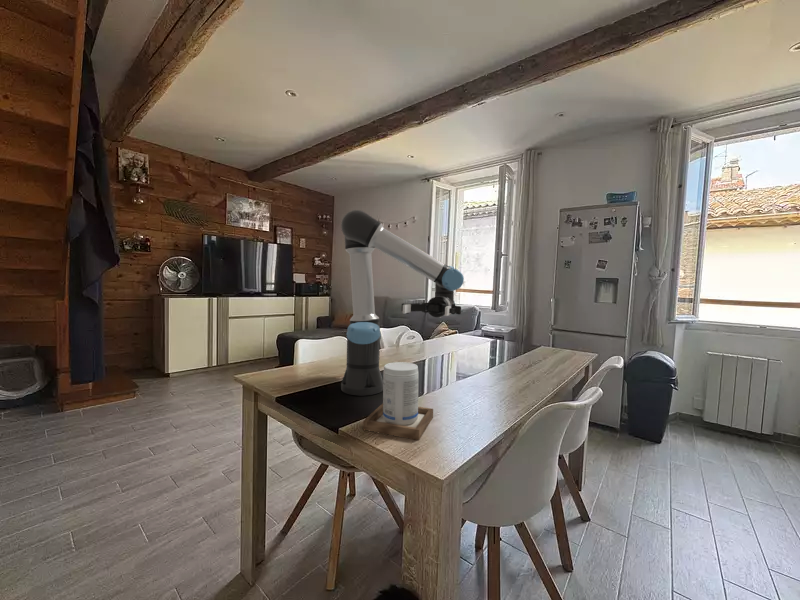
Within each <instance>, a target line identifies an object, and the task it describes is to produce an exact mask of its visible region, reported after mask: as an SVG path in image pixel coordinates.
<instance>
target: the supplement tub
mask: <svg viewBox="0 0 800 600" xmlns="http://www.w3.org/2000/svg"><path fill="white" fill-rule="evenodd" d="M382 374H383V375H382V379H383V391H382V404H383V418H384V420H385V421H386V422H388V423H390V424H396V425H407V424H412V423H414V422H415V421H416V420H417V418H418V407H419V367H418V365H417V364H415V363H412V362H405V361H397V362H396V361H395V362H389V363H386V364H385V365H384V366H383V373H382Z"/></svg>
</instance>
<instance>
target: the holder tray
mask: <svg viewBox="0 0 800 600" xmlns="http://www.w3.org/2000/svg"><path fill="white" fill-rule="evenodd" d="M433 418H434V408H430V407H422V406H418V418H417V420H416V421H415V422H414V423H412V424H407V425H396V424H390V423H388V422H386V421H385V420H384V418H383V403H381V404H380V405H379V406H378V407H377V408H376V409H375V410H373V411H372V412H371V413H370V414H369V415H368V416H366V418H364V420H362V421H363V422H362V430H363V429H365V430H370V431H374V432H373V433H376V432H379V433H378V434H381V433H384V434H383V435H387V434H389V435H388V436H393V435H394V436H395V437H398V436H400V438H404V439H411V440H414V441H415V440H416V441H420V440H421V438H422V437H423V435H424V433H425V432H426V430H427V428H428V426H429V425H430V423H432V422H431V421H432V420H433ZM365 430H364V431H365ZM370 431H369V432H370ZM394 436H393V437H394Z"/></svg>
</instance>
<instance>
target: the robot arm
mask: <svg viewBox="0 0 800 600" xmlns="http://www.w3.org/2000/svg"><path fill="white" fill-rule="evenodd" d="M340 222H341V224H340V228H341V232H342V234H343V236H344V237H343V238H344V250H345V251H346V253H348V255H349V267H350V281H351V282H350V285H351V296H352V297H351V298H352V299H351V300H352V301H351V302H352V313H353V315H352V316H351V318H350V319H349V325H348V326H347V331H346V369H345V371H344V373H343V377H342V381H341V383H340V389H341V391H342V392H343V393H344V394H347V395H351V396H358V397H359V396H372V395H377V394H380V393H381V392H382V393H383V375H382V373H381V370H380V350H381V349H380V348H381V347H380V342H381V338H382V334H381V327H380V317H379V316H378V315H377V314H376V309H375V308H376V307H375V293H374V292H375V291H374V276H373V260H372V259H373V258H372V254H373V252H374V251H375V250H378V251H380V252H381V253H383V254H385V255H387V256H389V257H390V258H392V259H394V260H396V261H397V262H399V263H401V264H403V266H406V267H407V268H409V269H411V270H412V271H414V272H416V273H418V274H419V275H421V276H423V277H425V278H426V279H428V280H430V281H432V282H433V283H434V286H435V287H434V296H433V297H432V298H430V299H429V300H428V302H422V303H421V302H416V303H401V312H402V314H403V315H404V314H405V315H407V314H409V313H412V312H422V313H425V314H426V313H428V314H429V315H430V316H431V317H433V318H440V319H441V318H442V317H444V316H445V317H448V316H450V315H462V306H461V305H456V303H455V300H454V299H455V291H456V290H459V289H461V288H462V286H463V284H464V281H465V279H464V278H465V277H464V274H463V273H462V271H461V270H459V269H457V268H455V267H454V266H453V265H447V264H445V263H444V262H442V261H441V260H439V259H437V258H435V257H434V256H433V255H430V254H429V253H427V252H425V251H423V250H422V249H420V248H419V247H417V246H415V245H413V244H411V243H410V242H409V241H407V240H405V239H403V238H402V237H400V236H398V235H397V234H394V233H393V232H391V231H390V230H388V229H386V228H385V227H384V224H383V223H382V222H380V221H379V220H377V219H376V218H374V217H373V216H372V215H370V214H368V213H367V212H365V211H364V210H360V209H352V210H350V211H348V212H347V213H345V215H344V216H343V217H342V219H341V221H340Z"/></svg>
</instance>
